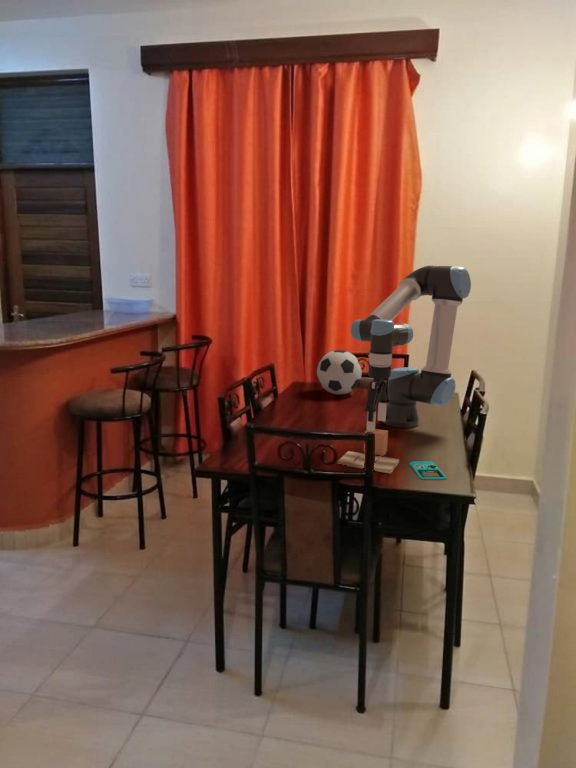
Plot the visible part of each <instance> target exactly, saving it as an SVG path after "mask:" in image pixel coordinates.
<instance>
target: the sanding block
mask: <svg viewBox="0 0 576 768" xmlns="http://www.w3.org/2000/svg"><path fill="white" fill-rule="evenodd" d="M367 432H373V433H374V434H375V454H376V455H380V456H383V457H385V455H386V454H387V453H386V452H388V442H389V441H388V439H389V430H385V429H378V428H375V431H371V430H365V431H364V434H365V433H367ZM363 454H365V443H364V442H363Z"/></svg>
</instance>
